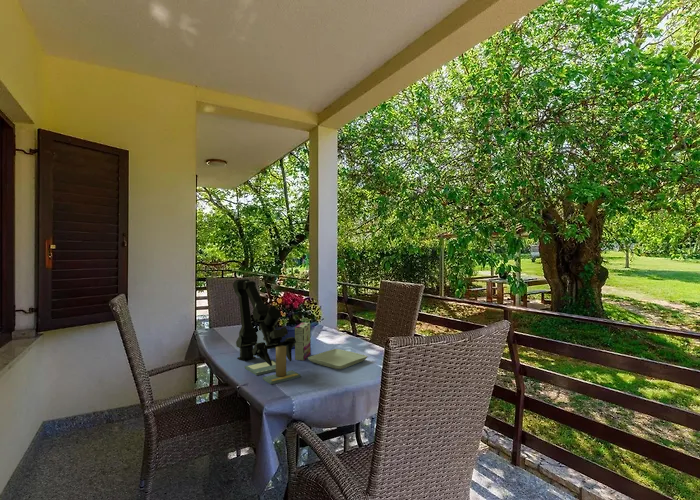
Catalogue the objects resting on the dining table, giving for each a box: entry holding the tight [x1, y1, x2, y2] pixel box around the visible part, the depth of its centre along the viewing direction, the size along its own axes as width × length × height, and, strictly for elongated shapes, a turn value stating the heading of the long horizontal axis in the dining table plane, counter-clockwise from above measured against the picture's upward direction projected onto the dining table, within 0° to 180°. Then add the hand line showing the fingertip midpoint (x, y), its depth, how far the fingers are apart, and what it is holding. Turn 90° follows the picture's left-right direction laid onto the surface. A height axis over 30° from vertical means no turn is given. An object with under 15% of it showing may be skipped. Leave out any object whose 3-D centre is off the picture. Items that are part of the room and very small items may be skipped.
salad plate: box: [307, 348, 368, 370], centre depth 182 cm, size 21×21×3 cm
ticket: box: [244, 359, 276, 376], centre depth 173 cm, size 12×14×1 cm
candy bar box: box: [294, 322, 312, 362], centre depth 190 cm, size 11×5×16 cm, turn 168°
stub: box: [262, 346, 302, 385], centre depth 160 cm, size 7×14×13 cm, turn 129°
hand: (281, 363), depth 161 cm, fingers open, 9 cm apart
